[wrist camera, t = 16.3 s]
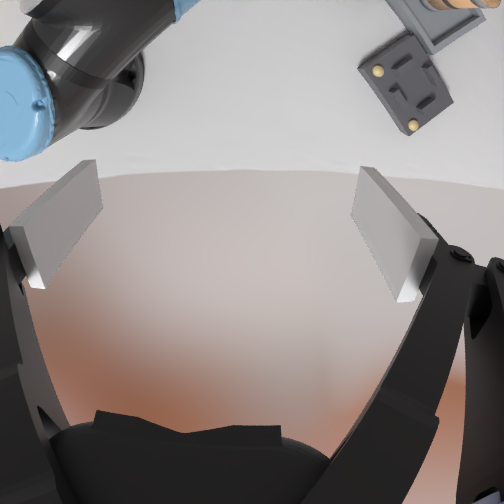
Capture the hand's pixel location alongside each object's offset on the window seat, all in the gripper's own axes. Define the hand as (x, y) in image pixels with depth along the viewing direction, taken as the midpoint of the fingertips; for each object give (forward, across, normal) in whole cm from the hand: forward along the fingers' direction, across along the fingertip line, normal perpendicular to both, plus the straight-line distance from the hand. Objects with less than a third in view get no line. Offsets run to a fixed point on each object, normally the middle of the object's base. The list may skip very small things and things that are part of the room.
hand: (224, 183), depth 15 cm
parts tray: (+32, +27, +21) cm, 47 cm away
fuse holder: (+32, +24, +6) cm, 40 cm away
